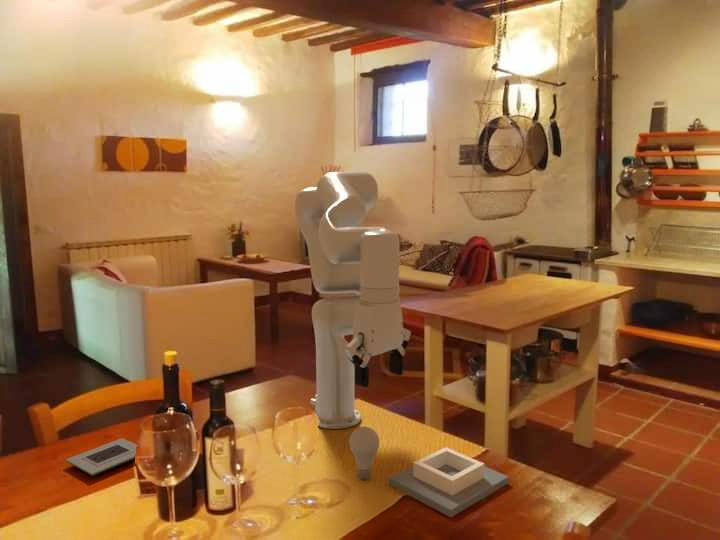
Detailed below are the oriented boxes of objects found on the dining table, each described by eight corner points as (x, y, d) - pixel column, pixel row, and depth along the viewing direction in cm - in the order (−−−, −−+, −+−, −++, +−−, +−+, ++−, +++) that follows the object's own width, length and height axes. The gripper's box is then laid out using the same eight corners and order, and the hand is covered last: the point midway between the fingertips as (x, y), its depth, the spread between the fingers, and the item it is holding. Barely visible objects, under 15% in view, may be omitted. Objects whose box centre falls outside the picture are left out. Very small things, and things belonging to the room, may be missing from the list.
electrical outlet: (92, 483, 123) (91, 472, 122) (66, 468, 129) (65, 458, 129) (149, 459, 133) (148, 449, 133) (122, 446, 139) (122, 436, 139)
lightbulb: (373, 469, 127) (373, 420, 125) (383, 483, 121) (383, 431, 120) (345, 474, 125) (345, 424, 124) (354, 488, 120) (354, 436, 118)
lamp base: (388, 484, 121) (388, 463, 120) (446, 456, 133) (446, 437, 132) (450, 517, 109) (451, 494, 109) (508, 483, 121) (508, 462, 121)
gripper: (395, 286, 125) (395, 365, 128) (333, 298, 113) (334, 385, 116) (423, 291, 120) (422, 373, 123) (361, 304, 108) (361, 395, 111)
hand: (379, 379), depth 119 cm, fingers open, 9 cm apart
